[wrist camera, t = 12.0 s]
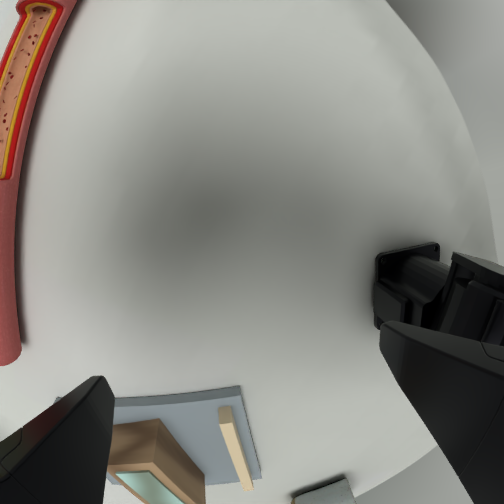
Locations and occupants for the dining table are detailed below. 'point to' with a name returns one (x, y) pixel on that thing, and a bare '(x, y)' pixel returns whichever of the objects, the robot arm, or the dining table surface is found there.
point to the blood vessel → (20, 136)
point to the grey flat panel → (201, 431)
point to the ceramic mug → (328, 495)
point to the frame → (154, 464)
